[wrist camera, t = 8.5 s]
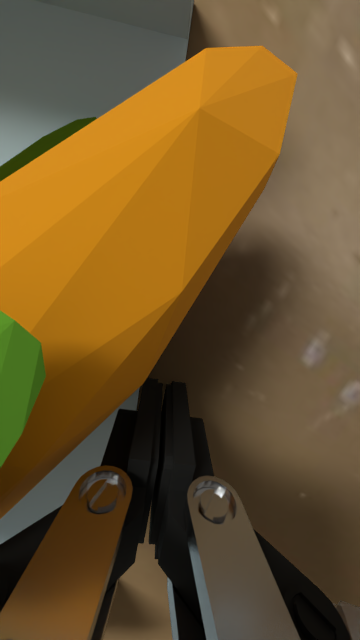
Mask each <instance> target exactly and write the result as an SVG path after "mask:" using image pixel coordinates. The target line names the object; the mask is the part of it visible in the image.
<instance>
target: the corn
mask: <svg viewBox="0 0 360 640" xmlns="http://www.w3.org/2000/svg"><path fill="white" fill-rule="evenodd" d="M296 78H297V73H296V72H295V71H293V70H292V69H291V68H290V67H288V66H287V65H286V64H285V63H283V62H282V61H281V60H280V59H278V58H277V57H276V56H275V55H273V54H272V53H271V52H270V51H268V50H267V49H266V48H265V47H263V46H246V47H219V48H206V49H204V50H202V51H201V52H199V53H198V54H196V55H195V56H193V57H192V58H190V59H189V60H187V61H185V62H184V63H182V64H181V65H179V66H178V67H176V68H175V69H173V70H172V71H170V72H169V73H167V74H165V75H164V76H162V77H161V78H159V79H158V80H156V81H155V82H153V83H152V84H150V85H148V86H147V87H145V88H144V89H142V90H141V91H139V92H138V93H136V94H135V95H133V96H132V97H130V98H128V99H127V100H125V101H124V102H122V103H121V104H119V105H118V106H116V107H115V108H113V109H111V110H110V111H108V112H107V113H105V114H104V115H102V116H101V117H99V118H98V119H97V118H96V117H90V118H84V119H77V120H75V121H73V122H71V123H69V124H67V125H65V126H63V127H61V128H59V129H57V130H55V131H53V132H51V133H49V134H47V135H45V136H43V137H42V138H40V139H39V140H37V141H36V142H34V143H33V144H32V145H30V146H29V147H27V148H26V149H24V150H23V151H21V152H20V153H19V154H17V155H16V156H14V157H13V158H11V159H10V160H9V161H7V162H6V163H4V164H3V165H1V166H0V519H1V518H2V517H3V516H4V515H5V514H6V513H7V512H8V511H10V510H11V509H12V508H13V507H14V506H15V505H16V504H17V503H18V502H19V501H20V500H21V499H22V498H23V497H24V496H25V495H26V494H27V493H28V492H30V491H31V490H32V489H33V488H34V487H35V486H36V485H37V484H38V483H39V482H40V481H41V480H42V479H43V478H44V477H45V476H46V475H47V474H49V473H50V472H51V471H52V470H53V469H54V468H55V467H56V466H57V465H58V464H59V463H60V462H61V461H62V460H63V459H64V458H65V457H66V456H67V455H69V454H70V453H71V452H72V451H73V450H74V449H75V448H76V447H77V446H78V445H79V444H80V443H81V442H82V441H83V440H84V439H85V438H86V437H87V436H89V435H90V434H91V433H92V432H93V431H94V430H95V429H96V428H97V427H98V426H99V425H100V424H101V423H102V422H103V421H104V420H105V419H106V418H108V417H109V416H110V415H111V414H112V413H113V412H114V411H115V410H116V409H117V408H118V407H119V406H120V405H121V404H122V403H123V402H124V401H125V400H126V399H128V398H129V397H130V396H131V395H132V394H133V393H134V392H135V391H136V390H137V389H138V388H139V387H140V386H141V385H142V384H143V383H144V382H145V380H146V379H147V377H148V375H149V374H150V372H151V371H152V369H153V367H154V366H155V364H156V362H157V361H158V359H159V358H160V356H161V354H162V353H163V351H164V350H165V348H166V346H167V345H168V343H169V342H170V340H171V338H172V337H173V335H174V333H175V332H176V330H177V329H178V327H179V325H180V324H181V322H182V321H183V319H184V317H185V316H186V314H187V312H188V311H189V309H190V308H191V306H192V304H193V303H194V301H195V300H196V298H197V296H198V295H199V293H200V291H201V290H202V288H203V287H204V285H205V283H206V282H207V280H208V279H209V277H210V275H211V274H212V272H213V271H214V269H215V267H216V266H217V264H218V262H219V261H220V259H221V258H222V256H223V254H224V253H225V251H226V250H227V248H228V246H229V245H230V243H231V241H232V240H233V238H234V237H235V235H236V233H237V232H238V230H239V229H240V227H241V225H242V224H243V222H244V221H245V219H246V217H247V216H248V214H249V212H250V211H251V209H252V208H253V206H254V204H255V203H256V201H257V200H258V198H259V196H260V195H261V193H262V191H263V190H264V188H265V186H266V184H267V181H268V179H269V177H270V175H271V172H272V170H273V168H274V166H275V163H276V161H277V159H278V157H279V155H280V150H281V146H282V141H283V137H284V132H285V128H286V123H287V119H288V114H289V110H290V105H291V101H292V96H293V92H294V87H295V83H296Z"/></svg>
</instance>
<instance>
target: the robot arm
mask: <svg viewBox="0 0 360 640" xmlns="http://www.w3.org/2000/svg"><path fill="white" fill-rule="evenodd" d="M162 387H163V384H162V383H158V379H152V378H147V379H146V380H145V382H144V383H143V389H142V394H141V399H140V404H139V409H138V411H136V410H127V409H119V410H118V412H117V415H116V419H115V422H114V425H113V428H112V431H111V434H110V437H109V440H108V444H107V447H106V450H105V453H104V456H103V459H102V462H101V465H100V466H99V467H96V468H93V469H91V470H89V471H87V472H86V473H85V474H83V475H82V476H81V477H80V478H79V480H78V481H77V482H76V483H75V485H74V487H73V488H72V490H71V492H70V494H69V495H68V497H67V499H66V500H65V502H64V504H63V505H62V506H60V507H59V508H57V509H55V510H54V511H52V512H51V513H49V514H47V515H46V516H44V517H43V518H41V519H40V520H38V521H36V522H35V523H33V524H32V525H30V526H29V527H27V528H25V529H24V530H22V531H21V532H19V533H17V534H16V535H14V536H13V537H11V538H10V539H8V540H6V541H5V542H3V543H2V544H0V640H103V637H104V633H105V630H106V626H107V622H108V619H109V615H110V611H111V608H112V604H113V600H114V597H115V593H116V589H117V586H118V580H119V578H120V577H121V576H122V575H123V574H124V573H125V572H126V571H127V569H128V568H129V567H130V566H131V565H132V564H133V563H134V562H135V557H136V551H137V546H138V543H144V538H145V533H146V527H147V522H148V516H149V511H150V506H151V517H150V531H149V544H155V559H158V564H159V566H160V567H161V568H162V570H163V571H164V572H165V574H166V575H167V577H168V578H167V589H168V599H169V608H170V618H171V627H172V637H173V640H360V608H359V607H357V606H354V605H351V604H348V603H346V602H343V601H339V603H338V605H335V604H333V603H332V602H331V601H330V600H329V599H328V598H327V597H326V596H325V594H324V593H323V592H322V591H321V590H320V589H319V588H318V587H317V586H315V585H314V584H313V583H312V582H311V581H310V580H309V579H308V578H307V577H306V576H305V575H303V574H302V573H301V572H300V571H299V570H298V569H297V568H296V567H295V566H294V565H292V564H291V563H290V562H289V561H288V560H287V559H286V558H285V557H284V556H283V555H281V554H280V553H279V552H278V551H277V550H276V549H275V548H274V547H273V546H272V545H271V544H269V543H268V542H267V541H266V540H265V539H264V538H263V537H262V536H261V535H260V534H258V533H257V532H256V531H255V530H254V529H253V528H252V525H251V523H250V521H249V518H248V516H247V514H246V511H245V509H244V507H243V504H242V502H241V499H240V498H239V496H238V494H237V492H236V491H235V490H234V489H233V488H232V487H231V486H230V484H228V483H227V482H225V481H224V480H222V479H220V478H217V477H214V474H213V469H212V464H211V459H210V454H209V449H208V444H207V439H206V433H205V428H204V423H203V420H202V419H201V418H193V417H190V415H189V407H188V399H187V390H186V383H182V382H175V381H172V383H171V385H170V384H166V389H165V394H164V400H163V405H162ZM161 407H162V411H161ZM151 500H152V503H151Z"/></svg>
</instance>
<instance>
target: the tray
mask: <svg viewBox="0 0 360 640" xmlns="http://www.w3.org/2000/svg"><path fill="white" fill-rule="evenodd" d="M193 4H194V0H0V166H1V165H3V164H4V163H6V162H7V161H9V160H10V159H11V158H13V157H14V156H16V155H17V154H19V153H20V152H21V151H23V150H24V149H26V148H27V147H29V146H30V145H32V144H33V143H34V142H36V141H37V140H39V139H40V138H42V137H43V136H45V135H47V134H49V133H51V132H53V131H55V130H57V129H59V128H61V127H63V126H65V125H67V124H69V123H71V122H73V121H75V120H77V119H84V118H90V117H96V118H97V119H98V118H99V117H101V116H102V115H104V114H105V113H107V112H108V111H110V110H111V109H113V108H115V107H116V106H118V105H119V104H121V103H122V102H124V101H125V100H127V99H128V98H130V97H132V96H133V95H135V94H136V93H138V92H139V91H141V90H142V89H144V88H145V87H147V86H148V85H150V84H152V83H153V82H155V81H156V80H158V79H159V78H161V77H162V76H164V75H165V74H167V73H169V72H170V71H172V70H173V69H175V68H176V67H178V66H179V65H181V64H182V63H184V62H185V61H186V54H187V47H188V40H189V33H190V26H191V19H192V12H193ZM139 388H140V387H139ZM139 388H138V389H137V390H136V391H135V392H134V393H133V394H132V395H131V396H130V397H129V398H128V399H126V400H125V401H124V402H123V403H122V404H121V405H120V406H119V407H118V408H117V409H116V410H115V411H114V412H113V413H112V414H111V415H110V416H109V417H108V418H106V419H105V420H104V421H103V422H102V423H101V424H100V425H99V426H98V427H97V428H96V429H95V430H94V431H93V432H92V433H91V434H90V435H89V436H87V437H86V438H85V439H84V440H83V441H82V442H81V443H80V444H79V445H78V446H77V447H76V448H75V449H74V450H73V451H72V452H71V453H70V454H69V455H67V456H66V457H65V458H64V459H63V460H62V461H61V462H60V463H59V464H58V465H57V466H56V467H55V468H54V469H53V470H52V471H51V472H50V473H49V474H47V475H46V476H45V477H44V478H43V479H42V480H41V481H40V482H39V483H38V484H37V485H36V486H35V487H34V488H33V489H32V490H31V491H30V492H28V493H27V494H26V495H25V496H24V497H23V498H22V499H21V500H20V501H19V502H18V503H17V504H16V505H15V506H14V507H13V508H12V509H11V510H10V511H8V512H7V513H6V514H5V515H4V516H3V517H2V518H1V519H0V544H2V543H3V542H5V541H6V540H8V539H10V538H11V537H13V536H14V535H16V534H17V533H19V532H21V531H22V530H24V529H25V528H27V527H29V526H30V525H32V524H33V523H35V522H36V521H38V520H40V519H41V518H43V517H44V516H46V515H47V514H49V513H51V512H52V511H54V510H55V509H57V508H59V507H60V506H62V505H63V504H64V502H65V500H66V499H67V497H68V495H69V494H70V492H71V490H72V488H73V487H74V485H75V483H76V482H77V481H78V480H79V478H80V477H81V476H82V475H83V474H85V473H86V472H87V471H89V470H91V469H93V468H96V467H99V466H100V465H101V462H102V459H103V456H104V453H105V450H106V447H107V444H108V440H109V437H110V434H111V431H112V428H113V425H114V422H115V419H116V415H117V412H118V410H119V409H127V410H136V409H137V402H138V395H139Z"/></svg>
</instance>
